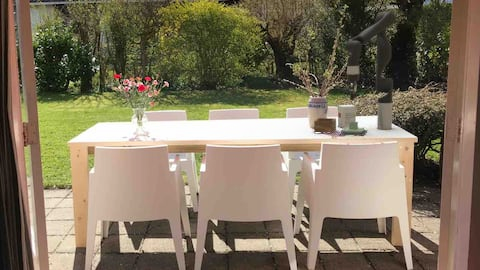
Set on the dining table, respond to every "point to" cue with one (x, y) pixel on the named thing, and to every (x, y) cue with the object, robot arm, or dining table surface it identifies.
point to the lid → (353, 128)
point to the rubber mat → (353, 133)
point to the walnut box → (325, 125)
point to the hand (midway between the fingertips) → (353, 99)
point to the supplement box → (346, 115)
